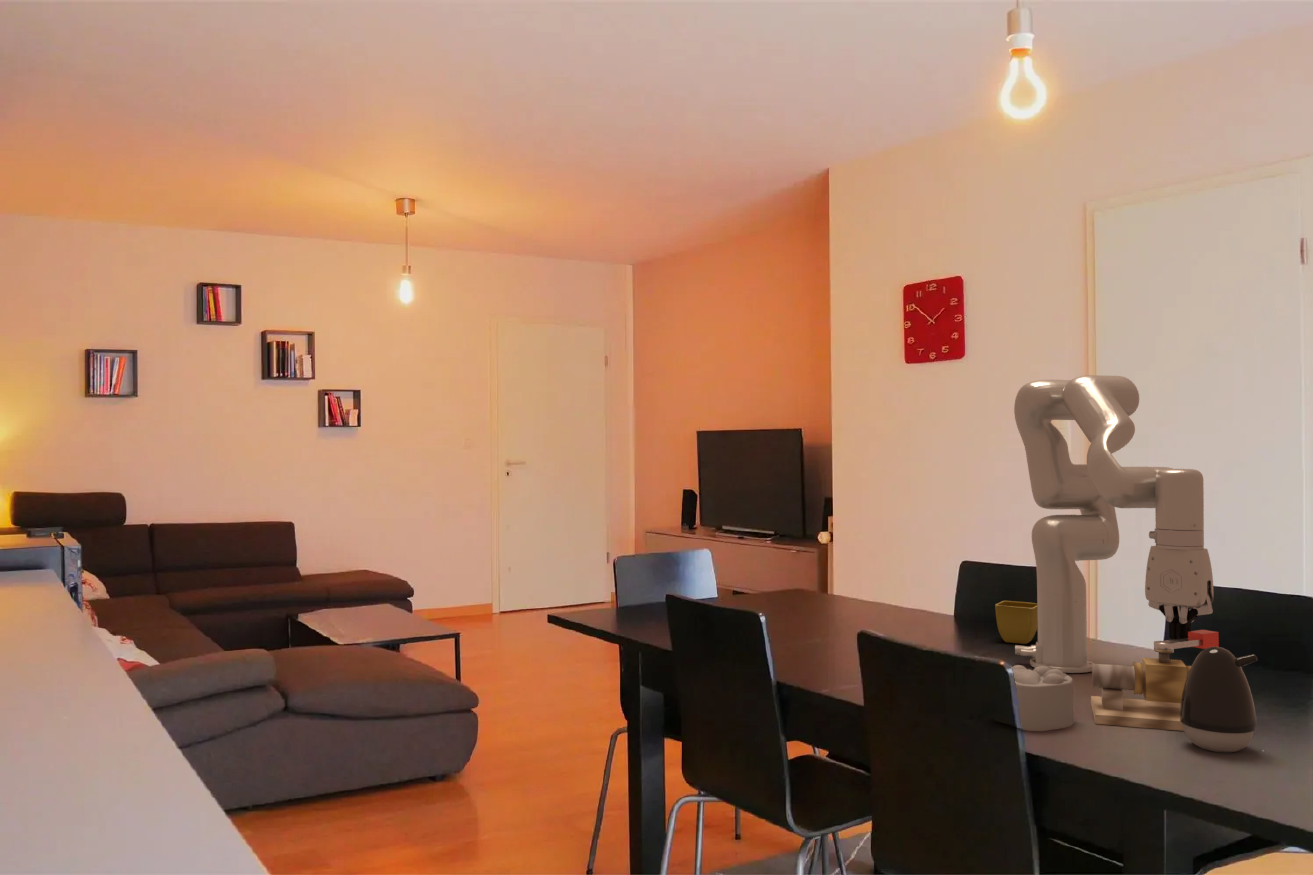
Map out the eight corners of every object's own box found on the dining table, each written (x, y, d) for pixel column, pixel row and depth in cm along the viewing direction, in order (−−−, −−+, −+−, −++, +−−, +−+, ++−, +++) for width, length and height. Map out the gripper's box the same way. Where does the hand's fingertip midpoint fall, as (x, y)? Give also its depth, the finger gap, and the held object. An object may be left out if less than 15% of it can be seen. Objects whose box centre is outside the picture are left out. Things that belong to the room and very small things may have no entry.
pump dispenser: (1263, 760, 149) (1262, 655, 149) (1182, 753, 153) (1181, 650, 153) (1253, 742, 159) (1252, 643, 159) (1177, 735, 163) (1176, 638, 163)
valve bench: (1095, 723, 170) (1094, 656, 170) (1091, 704, 183) (1090, 641, 183) (1247, 735, 162) (1246, 665, 162) (1231, 714, 175) (1230, 649, 176)
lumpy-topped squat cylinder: (984, 718, 174) (984, 666, 174) (1041, 709, 179) (1040, 659, 180) (1032, 733, 164) (1032, 678, 164) (1090, 723, 170) (1089, 670, 170)
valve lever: (1165, 653, 171) (1165, 638, 171) (1149, 650, 173) (1149, 635, 174) (1219, 646, 177) (1219, 632, 177) (1203, 643, 179) (1203, 629, 179)
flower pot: (1041, 641, 245) (1041, 603, 245) (1033, 646, 238) (1033, 607, 238) (1003, 637, 250) (1003, 600, 250) (994, 643, 242) (994, 604, 243)
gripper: (1126, 537, 184) (1127, 640, 184) (1212, 543, 172) (1213, 654, 172) (1149, 535, 188) (1150, 636, 188) (1234, 541, 176) (1235, 649, 176)
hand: (1180, 644), depth 180 cm, fingers closed
